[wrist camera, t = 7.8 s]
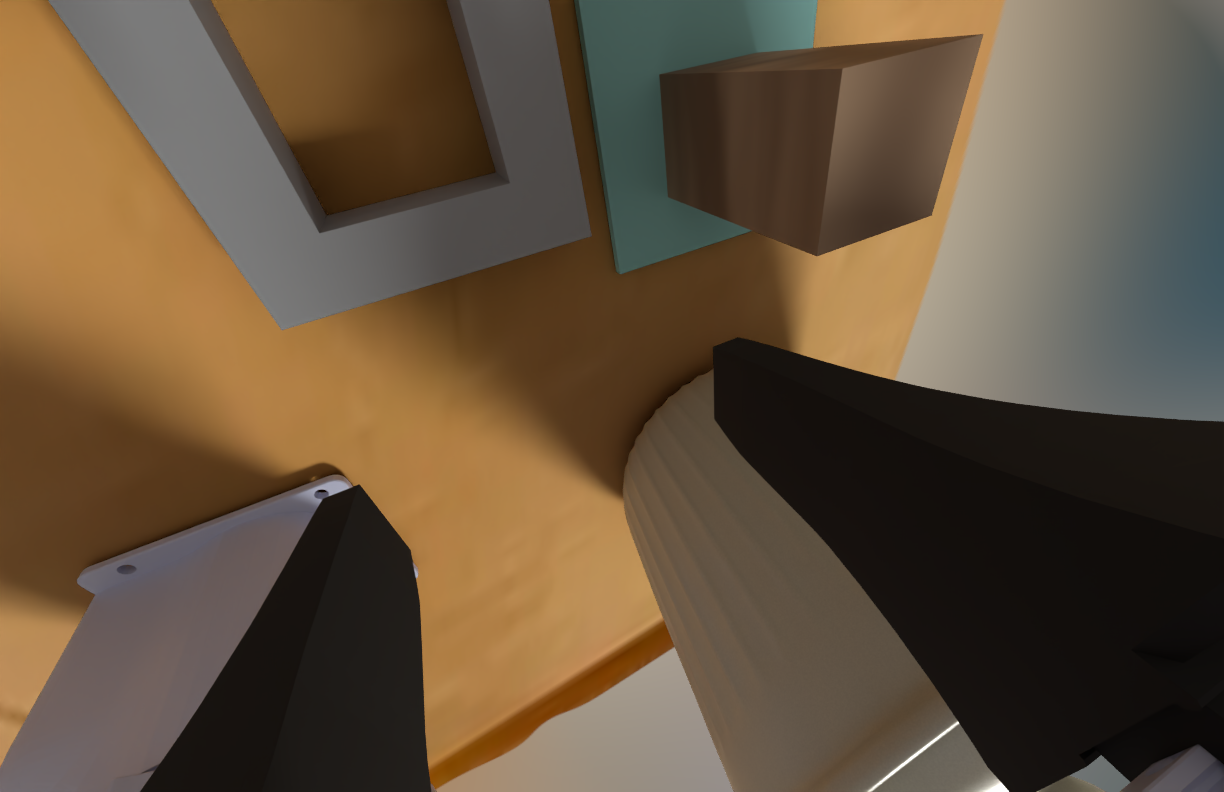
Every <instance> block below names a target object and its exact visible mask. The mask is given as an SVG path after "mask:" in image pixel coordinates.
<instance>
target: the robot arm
mask: <svg viewBox="0 0 1224 792" xmlns="http://www.w3.org/2000/svg"><path fill="white" fill-rule="evenodd" d="M713 373H714V420H715V421H716V422H717V424H718V425H719V427H720V428H721V429H722V431H723V432H724V434H725V435H726V436H727V438H728V439H729V440H730V442H731V443H732V444H733V446H734V447H735V448H736V450H737V451H738V452H739V453H740V455H741V456H742V457H743V458H744V459H745V460H746V461H747V462H748V463H749V464H750V465H751V466H752V467H753V468H754V469H755V470H756V471H757V473H758V474H759V475H760V476H761V477H762V478H763V479H764V480H765V481H766V482H767V483H768V484H769V485H770V486H771V487H772V488H773V489H774V490H775V491H776V492H777V493H778V494H779V495H780V496H781V497H782V498H783V499H784V500H785V501H786V502H787V503H788V504H789V505H790V506H791V507H792V508H793V509H794V510H795V511H796V512H797V513H798V514H799V515H800V516H801V517H802V518H803V519H804V521H805V522H806V523H807V524H808V525H809V526H810V527H811V528H812V529H813V530H814V531H815V532H816V533H817V534H818V535H819V536H820V537H821V539H822V540H823V541H824V542H825V543H826V544H827V545H828V546H829V547H830V549H831V550H832V551H833V552H834V554H835V555H836V556H837V557H838V559H839V560H840V561H841V562H842V564H843V565H844V566H845V567H846V569H847V570H848V571H849V572H850V574H851V575H852V576H853V577H854V578H855V580H856V581H857V582H858V583H859V585H860V586H861V587H862V589H863V590H864V591H865V592H866V594H867V595H868V596H869V598H870V599H871V600H872V602H873V603H874V604H875V606H876V607H877V608H878V609H879V611H880V612H881V613H882V615H883V616H884V617H885V619H886V620H887V621H888V623H889V624H890V625H891V627H892V628H893V629H894V630H895V632H896V633H897V635H898V636H899V637H900V639H901V640H902V642H903V643H904V644H905V646H906V647H907V649H908V650H909V651H910V653H911V654H912V656H913V657H914V658H915V660H916V661H917V663H918V664H919V665H920V667H921V668H922V669H923V671H924V672H925V674H926V675H927V676H928V678H929V679H930V681H931V682H932V684H933V685H934V686H935V688H936V689H937V691H938V692H939V694H940V695H941V697H942V698H943V700H944V701H945V703H946V704H947V706H948V707H949V709H950V710H951V712H952V713H953V715H954V716H955V718H956V719H957V721H958V722H959V724H960V725H961V727H962V728H963V730H964V731H965V733H966V734H967V736H968V737H969V739H970V740H971V742H972V743H973V745H974V747H975V748H976V750H977V751H978V753H979V754H980V756H981V758H982V759H983V761H984V762H985V764H986V765H987V767H988V768H989V770H990V771H991V772H992V773H993V774H994V775H995V776H996V777H997V779H998V780H999V781H1000V782H1001V783H1002V784H1003V785H1004V786H1005V788H1006V789H1007V790H1008V791H1009V792H1037V791H1039V790H1041V789H1043V788H1045V787H1047V786H1049V785H1051V784H1053V783H1055V782H1057V781H1059V780H1061V779H1063V778H1065V777H1067V776H1069V775H1071V774H1073V773H1075V772H1077V771H1079V770H1081V769H1083V768H1085V767H1087V766H1088V765H1089V764H1091V763H1092V762H1093V761H1094V760H1095V759H1097V758H1098V757H1099V756H1100V755H1102V756H1103V757H1104V758H1105V759H1107V761H1108V762H1110V763H1111V764H1112V765H1113V766H1114V767H1115V768H1116V769H1117V770H1118V771H1119V772H1120V773H1121V774H1123V776H1125V777H1126V778H1127V779H1128V780H1129V781H1130V782H1131V783H1130V784H1128V785H1127V786H1126V787H1125V788H1124V789H1122V790H1121V791H1120V792H1224V422H1219V421H1217V422H1216V421H1194V420H1177V419H1164V418H1150V417H1137V416H1123V415H1112V414H1101V413H1091V412H1080V411H1071V410H1063V409H1055V408H1047V407H1039V406H1031V405H1023V404H1015V403H1009V402H1002V401H995V400H989V399H983V398H977V397H972V396H966V395H961V394H956V393H950V392H945V391H940V390H935V389H930V388H925V387H920V386H915V385H911V384H907V383H903V382H899V381H895V380H891V379H887V378H882V377H878V376H874V375H870V374H867V373H863V372H859V371H855V370H852V369H848V368H845V367H841V366H837V365H834V364H831V363H827V362H824V361H820V360H817V359H813V358H810V357H807V356H803V355H800V354H797V353H793V352H790V351H787V350H783V349H780V348H777V347H773V346H770V345H766V344H763V343H759V342H755V341H751V340H747V339H743V338H738V337H737V338H735V339H732V340H730V341H727V342H725V343H722V344H719V345H717V346H714V347H713ZM321 489H322V490H326V491H327V492H323V493H321V492H317V490H321ZM126 565H132V566H126ZM417 577H418V568H417V566H416V565H415V564H414V563H413V561H412V556H411V550H410V549H409V547H408V546H407V545H406V544H405V542H404V541H403V540H402V538H401V537H400V536H399V535H398V533H397V532H396V531H395V529H394V528H393V527H392V526H391V524H390V523H389V522H388V520H387V519H386V518H385V517H384V515H383V514H382V513H381V511H380V510H379V509H378V508H377V506H376V505H375V504H374V502H373V501H372V500H371V499H370V497H369V496H368V495H367V493H366V492H365V491H364V490H363V488H362V487H361V486H360V484H359V485H357V486H354V487H353V486H352V485H351V483H350V482H349V481H348V479H346V478H345V477H344V476H341V475H330V476H327V477H324V478H322V479H319V480H316V481H314V482H311V483H308V484H306V485H303V486H300V487H298V488H295V489H293V490H290V491H287V492H285V493H282V494H279V495H277V496H274V497H271V498H269V499H266V500H263V501H261V502H258V503H256V504H253V505H250V506H248V507H245V508H242V509H240V510H237V511H234V512H232V513H229V514H227V515H224V516H221V517H219V518H216V519H213V520H211V521H208V522H205V523H203V524H200V525H198V526H195V527H192V528H190V529H187V530H184V531H182V532H179V533H176V534H174V535H171V536H168V537H166V538H163V539H161V540H158V541H155V542H153V543H150V544H147V545H145V546H142V547H139V548H137V549H134V550H132V551H129V552H126V553H124V554H121V555H118V556H116V557H113V558H110V559H108V560H105V561H103V562H100V563H97V564H95V565H92V566H89V567H87V568H85V569H84V570H83V571H82V572H81V574H80V576H79V577H78V579H77V584H79V585H80V586H81V587H82V588H84V589H86V590H88V591H89V592H91V593H93V594H95V596H94V598H93V600H92V601H91V603H90V605H89V607H88V608H87V610H86V612H85V614H84V616H83V617H82V619H81V621H80V623H79V625H78V626H77V628H76V630H75V632H74V634H73V635H72V637H71V639H70V641H69V643H68V644H67V646H66V648H65V650H64V652H63V653H62V655H61V657H60V659H59V661H58V662H57V664H56V666H55V668H54V670H53V671H52V673H51V675H50V677H49V679H48V680H47V682H46V684H45V686H44V688H43V689H42V691H41V693H40V695H39V696H38V698H37V700H36V702H35V704H34V705H33V707H32V709H31V711H30V713H29V714H28V716H27V718H26V720H25V722H24V723H23V725H22V727H21V729H20V731H19V732H18V734H17V736H16V738H15V740H14V741H13V743H12V745H11V747H10V749H9V750H8V752H7V754H6V756H5V759H4V761H3V763H2V765H1V767H0V792H437V791H436V790H435V788H434V787H433V785H432V784H431V783H430V777H429V770H428V761H427V749H426V737H425V716H424V690H423V664H422V640H421V618H420V601H419V594H418V588H417V582H416V578H417Z"/></svg>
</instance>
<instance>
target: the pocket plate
mask: <svg viewBox="0 0 1224 792" xmlns="http://www.w3.org/2000/svg"><path fill="white" fill-rule="evenodd" d="M48 1H49V2H50V4H51V5H52V7H53V8H54V9H55V11H56V12H57V14H58V15H59V16H60V18H61V19H62V21H63V22H64V24H65V25H66V26H67V28H68V29H69V31H70V32H71V33H72V35H73V36H74V38H75V39H76V40H77V42H78V43H79V45H80V46H81V48H82V49H83V50H84V52H85V53H86V55H87V56H88V57H89V59H90V60H91V62H92V63H93V64H94V66H95V67H96V69H97V70H98V72H99V73H100V74H101V76H102V77H103V79H104V80H105V81H106V83H107V84H108V86H109V87H110V88H111V90H112V91H113V93H114V94H115V95H116V97H117V98H118V100H119V101H120V103H121V104H122V105H123V107H124V108H125V110H126V111H127V112H128V114H129V115H130V117H131V118H132V119H133V121H134V122H135V124H136V125H137V127H138V128H139V129H140V131H141V132H142V134H143V135H144V136H145V138H146V139H147V141H148V142H149V143H150V145H151V146H152V148H153V149H154V151H155V152H156V153H157V155H158V156H159V158H160V159H161V160H162V162H163V163H164V165H165V166H166V167H167V169H168V170H169V172H170V173H171V174H172V176H173V177H174V179H175V180H176V182H177V183H178V184H179V186H180V187H181V189H182V190H183V191H184V193H185V194H186V196H187V197H188V198H189V200H190V201H191V203H192V204H193V206H194V207H195V208H196V210H197V211H198V213H199V214H200V215H201V217H202V218H203V220H204V221H205V222H206V224H207V225H208V227H209V228H210V230H211V231H212V232H213V234H214V235H215V237H216V238H217V239H218V241H219V242H220V244H221V245H222V246H223V248H224V249H225V251H226V252H227V253H228V255H229V256H230V258H231V259H232V261H233V262H234V263H235V265H236V266H237V268H238V269H239V270H240V272H241V273H242V275H243V276H244V277H245V279H246V280H247V282H248V283H249V285H250V286H251V287H252V289H253V290H254V292H255V293H256V294H257V296H258V297H259V299H260V300H261V301H262V303H263V304H264V306H265V307H266V309H267V310H268V311H269V313H270V314H271V316H272V317H273V318H274V320H275V321H276V323H277V324H278V325H279V327H280V328H281V330H284V329H288V328H291V327H294V326H297V325H301V324H304V323H307V322H311V321H314V320H317V319H321V318H324V317H327V316H330V315H334V314H337V313H340V312H344V311H347V310H350V309H354V308H357V307H360V306H363V305H367V304H370V303H373V302H377V301H380V300H383V299H386V298H390V297H393V296H396V295H400V294H403V293H406V292H410V291H413V290H416V289H419V288H423V287H426V286H429V285H433V284H436V283H439V282H443V281H446V280H449V279H452V278H456V277H459V276H462V275H466V274H469V273H472V272H475V271H479V270H482V269H485V268H489V267H492V266H495V265H499V264H502V263H505V262H508V261H512V260H515V259H518V258H522V257H525V256H528V255H532V254H535V253H538V252H541V251H545V250H548V249H551V248H555V247H558V246H561V245H564V244H568V243H571V242H574V241H578V240H581V239H584V238H588V237H591V236H592V235H591V229H590V224H589V218H588V213H587V207H586V202H585V196H584V191H583V186H582V180H581V175H580V169H579V164H578V158H577V153H576V147H575V142H574V136H573V131H572V125H571V120H570V114H569V109H568V103H567V98H566V92H565V87H564V81H563V76H562V70H561V65H560V59H559V54H558V48H557V43H556V37H555V32H554V26H553V21H552V15H551V10H550V4H549V0H446V2H447V5H448V8H449V12H450V15H451V19H452V22H453V26H454V29H455V33H456V36H457V39H458V43H459V46H460V50H461V53H462V57H463V60H464V64H465V67H466V70H467V74H468V77H469V81H470V84H471V88H472V91H473V95H474V98H475V101H476V105H477V108H478V112H479V115H480V119H481V122H482V126H483V129H484V133H485V136H486V139H487V143H488V146H489V150H490V153H491V157H492V160H493V164H494V167H495V170H496V173H492V174H488V175H484V176H480V177H476V178H472V179H468V180H464V181H460V182H456V183H452V184H449V185H445V186H441V187H437V188H433V189H429V190H425V191H421V192H417V193H413V194H409V195H406V196H402V197H398V198H394V199H390V200H386V201H382V202H378V203H374V204H370V205H366V206H363V207H359V208H355V209H351V210H347V211H343V212H339V213H335V214H331V215H326V214H325V212H324V210H323V208H322V206H321V204H320V202H319V201H318V199H317V197H316V195H315V193H314V191H313V189H312V188H311V186H310V184H309V182H308V180H307V178H306V176H305V175H304V173H303V171H302V169H301V167H300V165H299V163H298V162H297V160H296V158H295V156H294V154H293V152H292V150H291V149H290V147H289V145H288V143H287V141H286V139H285V137H284V136H283V134H282V132H281V130H280V128H279V126H278V124H277V122H276V121H275V119H274V117H273V115H272V113H271V111H270V109H269V108H268V106H267V104H266V102H265V100H264V98H263V96H262V95H261V93H260V91H259V89H258V87H257V85H256V83H255V82H254V80H253V78H252V76H251V74H250V72H249V70H248V69H247V67H246V65H245V63H244V61H243V59H242V57H241V56H240V54H239V52H238V50H237V48H236V46H235V44H234V43H233V41H232V39H231V37H230V35H229V33H228V31H227V29H226V28H225V26H224V24H223V22H222V20H221V18H220V16H219V15H218V13H217V11H216V9H215V7H214V5H213V3H212V2H211V0H48Z"/></svg>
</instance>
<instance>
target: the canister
mask: <svg viewBox="0 0 1224 792" xmlns="http://www.w3.org/2000/svg"><path fill="white" fill-rule="evenodd" d="M623 499H624V508H625V515H626V519H627V522H628V525H629V529H630V531H631V534H632V537H633V540H634V542H635V545H636V548H637V550H638V553H639V556H640V558H641V561H642V564H643V567H644V569H645V572H646V575H647V577H648V580H649V582H650V585H651V588H652V590H653V593H654V596H655V598H656V601H657V603H658V606H659V608H660V611H661V613H662V616H663V619H664V621H665V624H666V626H667V629H668V631H669V634H670V636H671V639H672V641H673V644H674V646H675V648H676V651H677V653H678V656H679V658H680V661H681V663H682V666H683V668H684V670H685V673H686V675H687V678H688V680H689V682H690V685H691V688H692V690H693V693H694V695H695V697H696V700H697V702H698V705H699V708H700V710H701V713H702V715H703V718H704V720H705V723H706V725H707V728H708V730H709V733H710V735H711V738H712V740H713V743H714V745H715V748H716V750H717V753H718V755H719V757H720V760H721V762H722V764H723V767H724V769H725V772H726V774H727V777H728V779H729V782H730V784H731V786H732V789H733V791H734V792H1009V791H1008V790H1007V789H1006V788H1005V786H1004V785H1003V784H1002V783H1001V782H1000V781H999V780H998V779H997V777H996V776H995V775H994V774H993V773H992V772H991V771H990V770H989V768H988V767H987V765H986V764H985V762H984V761H983V759H982V758H981V756H980V754H979V753H978V751H977V750H976V748H975V747H974V745H973V743H972V742H971V740H970V739H969V737H968V736H967V734H966V733H965V731H964V730H963V728H962V727H961V725H960V724H959V722H958V721H957V719H956V718H955V716H954V715H953V713H952V712H951V710H950V709H949V707H948V706H947V704H946V703H945V701H944V700H943V698H942V697H941V695H940V694H939V692H938V691H937V689H936V688H935V686H934V685H933V684H932V682H931V681H930V679H929V678H928V676H927V675H926V674H925V672H924V671H923V669H922V668H921V667H920V665H919V664H918V663H917V661H916V660H915V658H914V657H913V656H912V654H911V653H910V651H909V650H908V649H907V647H906V646H905V644H904V643H903V642H902V640H901V639H900V637H899V636H898V635H897V633H896V632H895V630H894V629H893V628H892V627H891V625H890V624H889V623H888V621H887V620H886V619H885V617H884V616H883V615H882V613H881V612H880V611H879V609H878V608H877V607H876V606H875V604H874V603H873V602H872V600H871V599H870V598H869V596H868V595H867V594H866V592H865V591H864V590H863V589H862V587H861V586H860V585H859V583H858V582H857V581H856V580H855V578H854V577H853V576H852V575H851V574H850V572H849V571H848V570H847V569H846V567H845V566H844V565H843V564H842V562H841V561H840V560H839V559H838V557H837V556H836V555H835V554H834V552H833V551H832V550H831V549H830V547H829V546H828V545H827V544H826V543H825V542H824V541H823V540H822V539H821V537H820V536H819V535H818V534H817V533H816V532H815V531H814V530H813V529H812V528H811V527H810V526H809V525H808V524H807V523H806V522H805V521H804V519H803V518H802V517H801V516H800V515H799V514H798V513H797V512H796V511H795V510H794V509H793V508H792V507H791V506H790V505H789V504H788V503H787V502H786V501H785V500H784V499H783V498H782V497H781V496H780V495H779V494H778V493H777V492H776V491H775V490H774V489H773V488H772V487H771V486H770V485H769V484H768V483H767V482H766V481H765V480H764V479H763V478H762V477H761V476H760V475H759V474H758V473H757V471H756V470H755V469H754V468H753V467H752V466H751V465H750V464H749V463H748V462H747V461H746V460H745V459H744V458H743V457H742V456H741V455H740V453H739V452H738V451H737V450H736V448H735V447H734V446H733V444H732V443H731V442H730V440H729V439H728V438H727V436H726V435H725V434H724V432H723V431H722V429H721V428H720V427H719V425H718V424H717V422H716V421H715V420H714V373H713V369H712V370H710V371H709V372H708V373H706V374H704V375H699V376H697V377H696V378H695V379H694V380H693V381H692V382H690V383H688V384H686V385H683V386H682V387H681V388H680V389H679V390H678V391H677V392H676V393H675V394H673V395H672V396H669V397H668V398H667V400H666V402H665V403H664V404H663V405H662V406H661V407H660V408H658V409H656V410H655V413H654V415H653V416H652V417H651V419H650V420H649V421H647V422H646V423H645V425H644V428H643V431H642V432H641V433H640V434H639V435H638V436H637V437H636V439H635V445H634V447H633V449H632V450H631V451H630V453H629V456H628V463H627V465H626V467H625V471H624V483H623ZM1037 792H1105V791H1104V790H1102V789H1100V788H1098V787H1096V786H1095V785H1093V784H1090V783H1088V782H1086V781H1083V780H1080V779H1078V778H1075V777H1072V776H1067V777H1065V778H1063V779H1061V780H1059V781H1057V782H1055V783H1053V784H1051V785H1049V786H1047V787H1045V788H1043V789H1041V790H1039V791H1037Z"/></svg>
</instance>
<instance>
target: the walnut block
mask: <svg viewBox="0 0 1224 792" xmlns="http://www.w3.org/2000/svg"><path fill="white" fill-rule="evenodd" d="M982 37H983V34H980V35H968V36H955V37H943V38H931V39H918V40H906V41H894V42H881V43H869V44H857V45H844V46H832V47H820V48H807V49H795V50H783V51H770V52H758V53H753V54H749V55H744V56H740V57H735V58H731V59H726V60H722V61H717V62H713V63H708V64H704V65H699V66H695V67H690V68H686V69H681V70H677V71H672V72H668V73H663V74H659V78H660V92H661V106H662V120H663V134H664V149H665V163H666V177H667V191H668V197H669V198H671V199H674V200H676V201H679V202H681V203H684V204H686V205H689V206H691V207H694V208H696V209H699V210H701V211H704V212H706V213H709V214H711V215H714V216H717V217H719V218H722V219H724V220H727V221H729V222H732V223H734V224H737V225H739V226H742V227H744V228H747V229H749V230H752V231H754V232H757V233H759V234H762V235H764V236H767V237H770V238H772V239H775V240H777V241H780V242H782V243H785V244H787V245H790V246H792V247H795V248H797V249H800V250H802V251H805V252H807V253H810V254H812V255H815V256H819V255H822V254H825V253H827V252H830V251H833V250H836V249H839V248H841V247H844V246H847V245H850V244H853V243H855V242H858V241H861V240H864V239H867V238H869V237H872V236H875V235H878V234H881V233H883V232H886V231H889V230H892V229H895V228H898V227H900V226H903V225H906V224H909V223H912V222H914V221H917V220H920V219H923V218H926V217H928V216H931V215H932V212H933V209H934V205H935V202H936V198H937V195H938V191H939V188H940V184H941V181H942V177H943V174H944V170H945V167H946V163H947V160H948V156H949V153H950V149H951V146H952V142H953V139H954V135H955V132H956V128H957V125H958V121H959V118H960V114H961V111H962V107H963V104H964V100H965V97H966V93H967V90H968V86H969V82H970V79H971V75H972V72H973V68H974V65H975V61H976V58H977V54H978V51H979V47H980V44H981V40H982Z"/></svg>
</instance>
